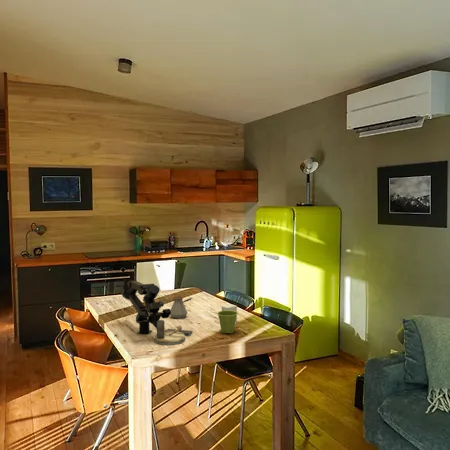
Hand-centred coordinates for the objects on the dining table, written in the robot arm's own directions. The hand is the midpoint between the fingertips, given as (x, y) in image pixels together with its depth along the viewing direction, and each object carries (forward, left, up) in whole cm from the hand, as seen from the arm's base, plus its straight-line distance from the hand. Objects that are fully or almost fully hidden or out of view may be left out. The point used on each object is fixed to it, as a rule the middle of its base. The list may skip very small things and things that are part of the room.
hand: (157, 328), depth 249 cm
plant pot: (-28, +30, -7) cm, 42 cm away
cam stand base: (-7, +5, -7) cm, 11 cm away
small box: (-48, +25, -7) cm, 55 cm away
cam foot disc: (-7, +5, -6) cm, 11 cm away
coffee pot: (-48, -6, -7) cm, 49 cm away
